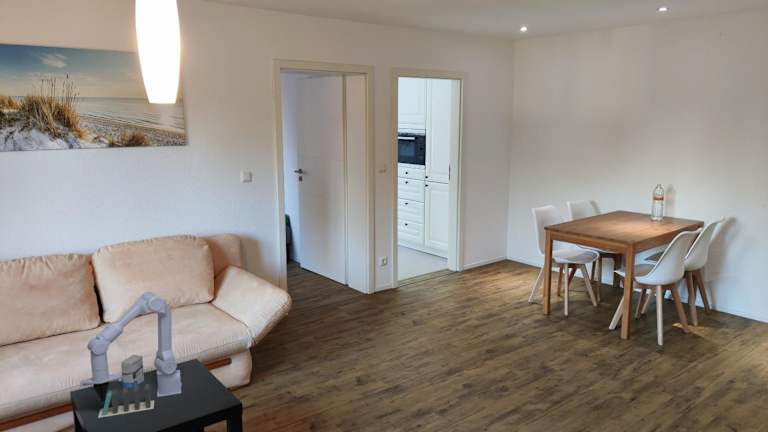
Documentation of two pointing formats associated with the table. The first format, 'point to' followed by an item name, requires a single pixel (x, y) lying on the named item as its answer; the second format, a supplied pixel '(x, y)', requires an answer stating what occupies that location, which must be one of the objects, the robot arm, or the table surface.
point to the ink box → (132, 371)
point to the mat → (121, 409)
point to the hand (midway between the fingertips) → (103, 400)
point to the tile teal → (107, 402)
